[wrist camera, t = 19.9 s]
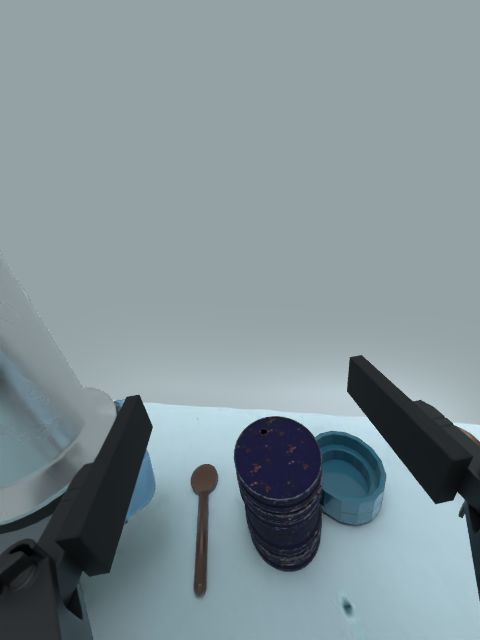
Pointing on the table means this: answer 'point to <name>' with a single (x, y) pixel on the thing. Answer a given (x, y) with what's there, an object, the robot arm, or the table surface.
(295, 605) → the table surface
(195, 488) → the spoon
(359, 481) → the bowl
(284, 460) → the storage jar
